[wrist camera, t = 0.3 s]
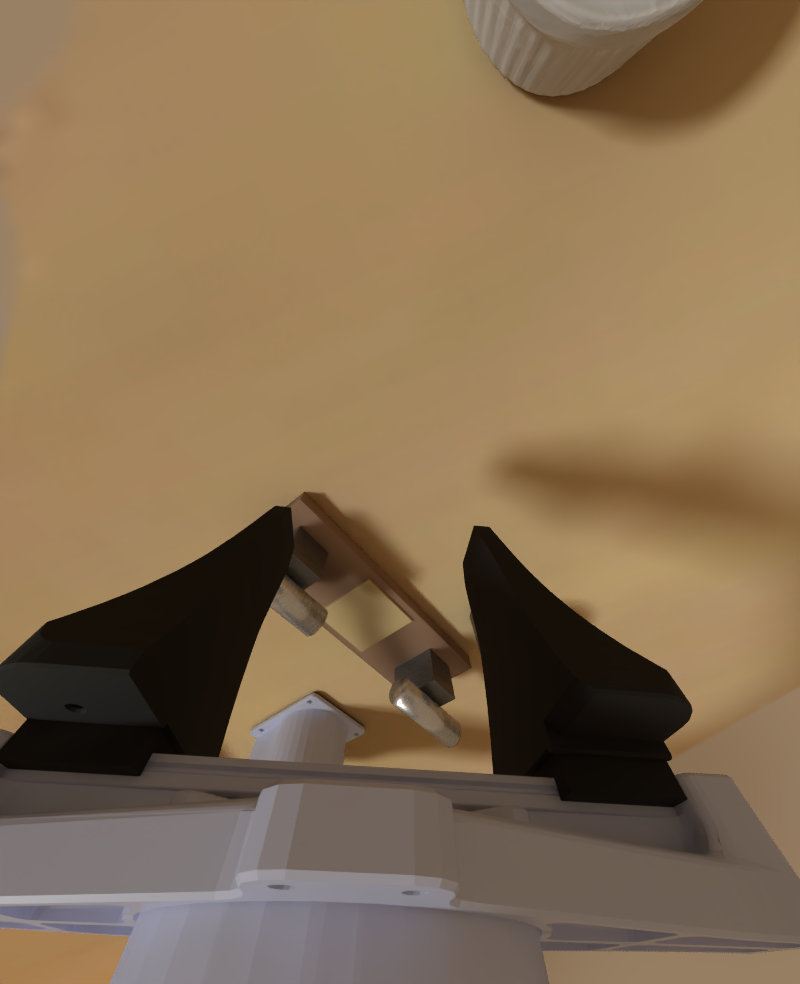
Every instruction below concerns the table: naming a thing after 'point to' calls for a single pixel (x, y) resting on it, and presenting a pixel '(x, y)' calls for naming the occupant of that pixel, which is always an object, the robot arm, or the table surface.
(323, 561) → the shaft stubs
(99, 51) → the table surface
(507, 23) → the ramekin
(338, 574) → the shaft board
